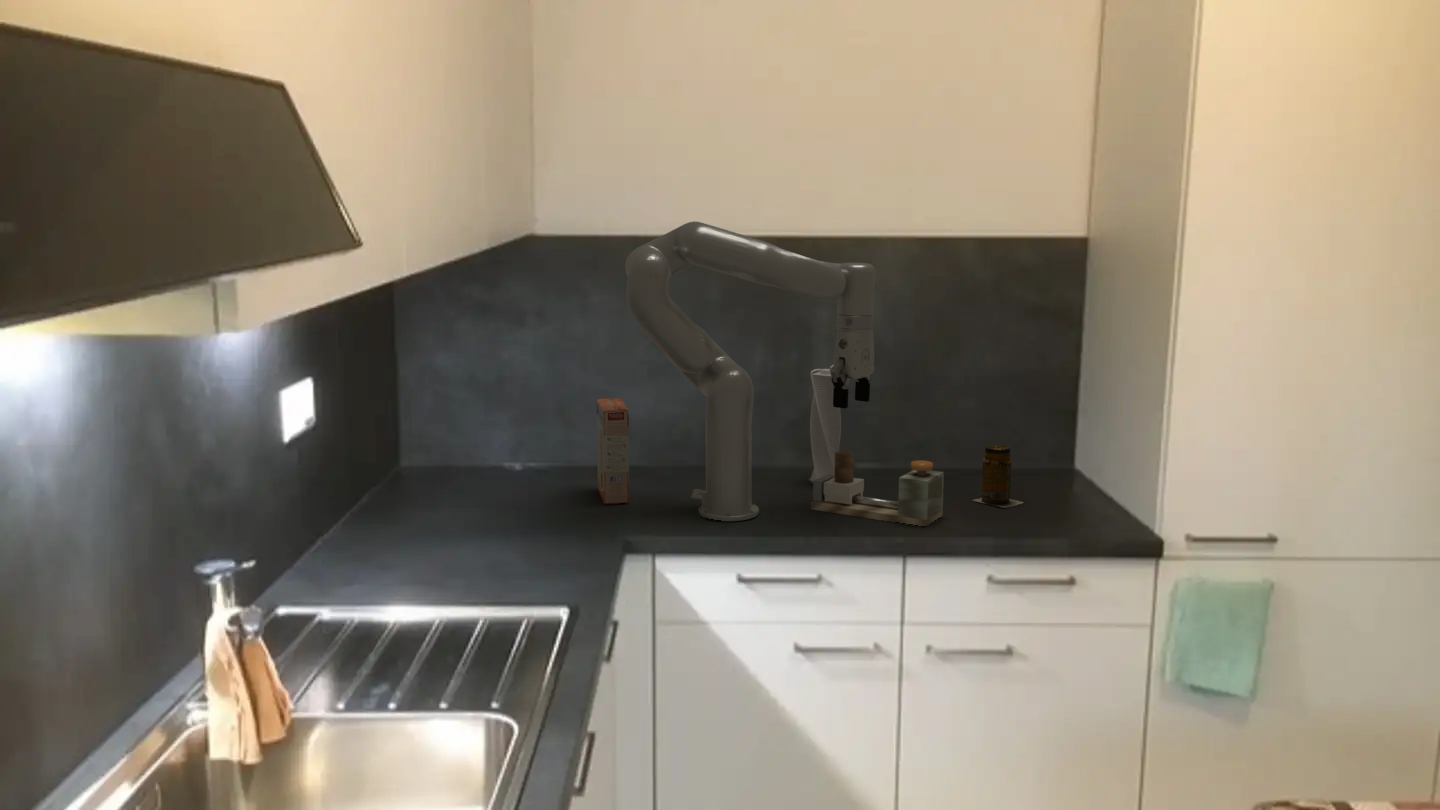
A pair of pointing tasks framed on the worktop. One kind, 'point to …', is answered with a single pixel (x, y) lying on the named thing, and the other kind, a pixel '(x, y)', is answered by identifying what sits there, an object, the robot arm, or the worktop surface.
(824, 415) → the skyscraper
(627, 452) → the cracker box
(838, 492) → the carriage
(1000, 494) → the condiment
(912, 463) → the button
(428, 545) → the worktop surface
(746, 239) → the robot arm
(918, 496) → the rail base
